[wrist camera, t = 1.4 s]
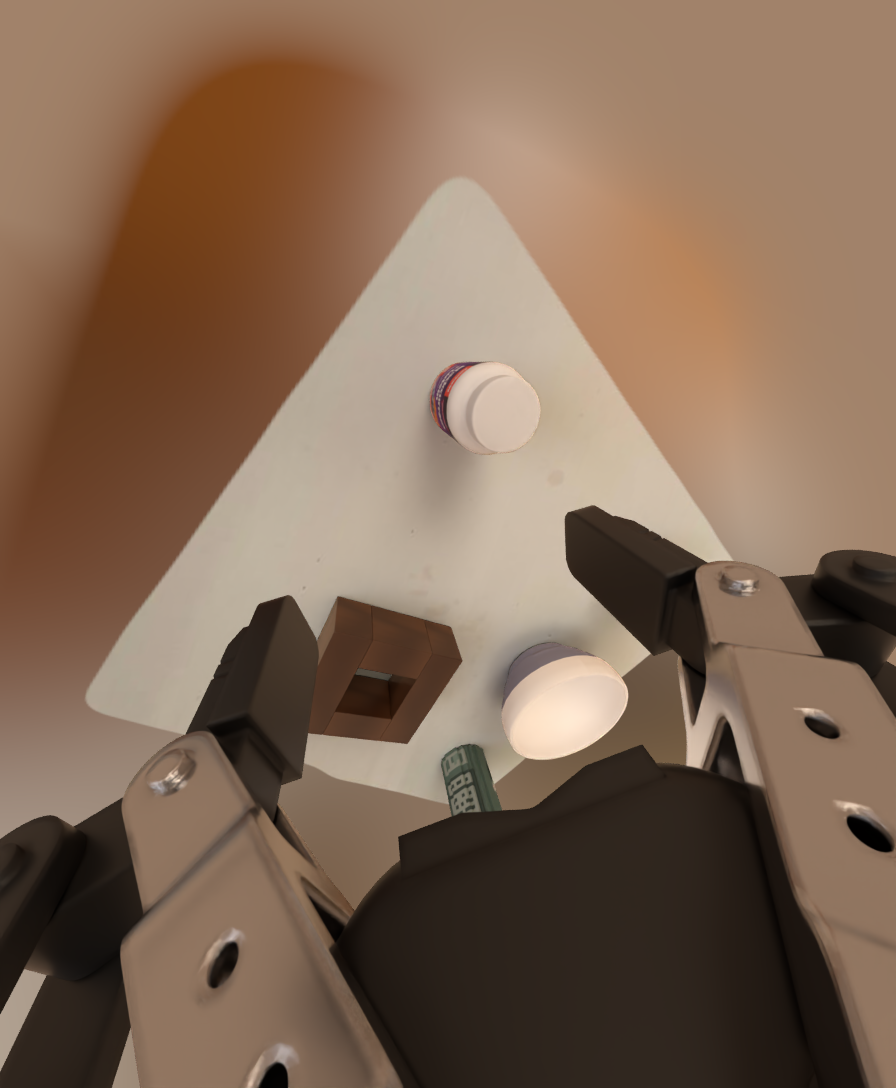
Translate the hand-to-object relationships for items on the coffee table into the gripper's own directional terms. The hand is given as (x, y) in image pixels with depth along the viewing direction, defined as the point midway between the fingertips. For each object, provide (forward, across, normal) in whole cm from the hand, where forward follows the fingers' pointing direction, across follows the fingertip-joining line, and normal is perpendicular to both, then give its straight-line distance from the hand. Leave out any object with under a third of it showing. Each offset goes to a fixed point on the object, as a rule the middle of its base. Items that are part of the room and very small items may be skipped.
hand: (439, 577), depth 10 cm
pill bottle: (+20, -6, -2) cm, 21 cm away
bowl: (+20, -11, +32) cm, 39 cm away
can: (+20, +2, +46) cm, 50 cm away
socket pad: (+20, +8, +22) cm, 30 cm away
